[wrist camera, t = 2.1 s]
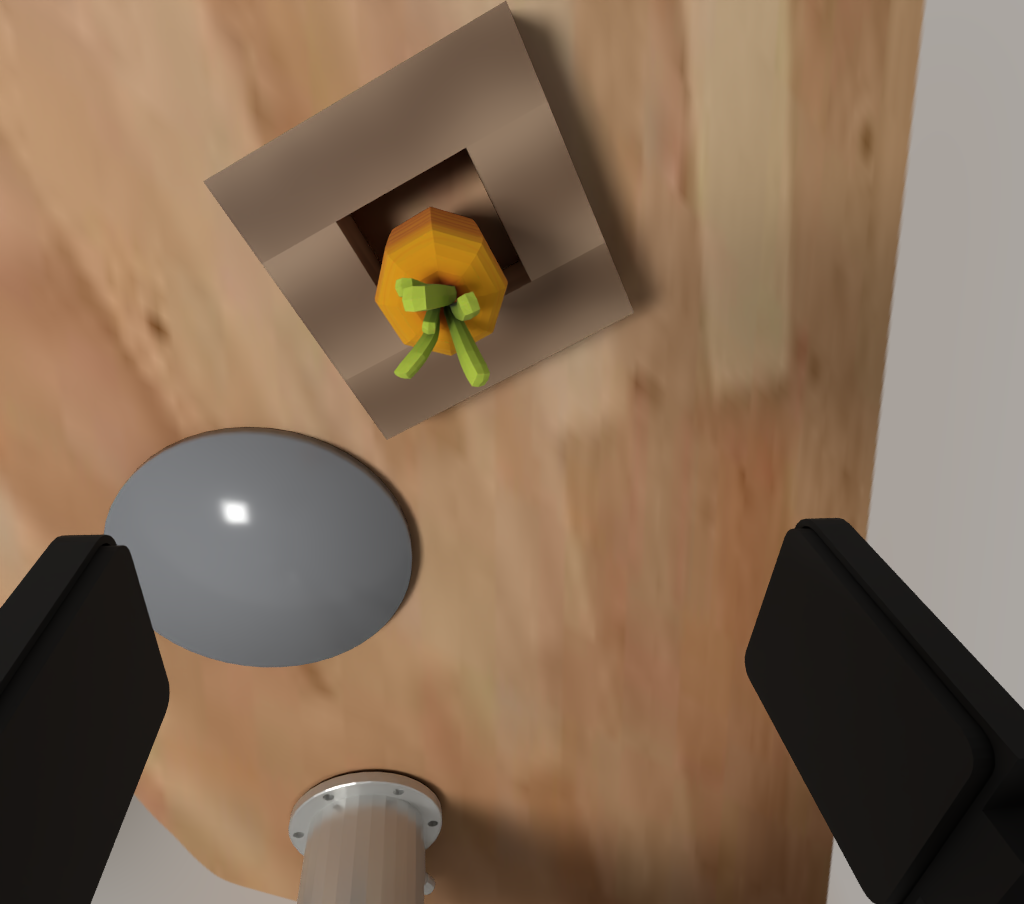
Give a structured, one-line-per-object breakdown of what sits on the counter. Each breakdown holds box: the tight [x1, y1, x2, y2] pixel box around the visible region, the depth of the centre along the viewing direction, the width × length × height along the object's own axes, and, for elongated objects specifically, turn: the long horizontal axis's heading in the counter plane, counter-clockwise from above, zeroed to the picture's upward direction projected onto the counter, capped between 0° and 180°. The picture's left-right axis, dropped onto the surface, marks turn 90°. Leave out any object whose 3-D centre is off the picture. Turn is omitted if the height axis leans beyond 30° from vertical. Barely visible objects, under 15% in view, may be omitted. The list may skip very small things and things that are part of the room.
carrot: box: [375, 207, 508, 387], centre depth 26 cm, size 5×5×15 cm
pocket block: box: [203, 1, 634, 439], centre depth 31 cm, size 14×14×4 cm
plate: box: [104, 427, 412, 667], centre depth 41 cm, size 18×18×1 cm
